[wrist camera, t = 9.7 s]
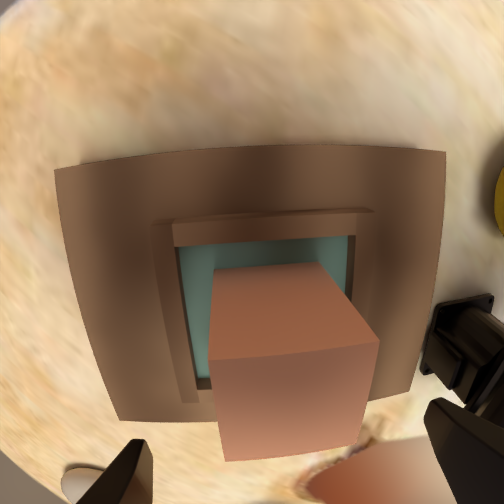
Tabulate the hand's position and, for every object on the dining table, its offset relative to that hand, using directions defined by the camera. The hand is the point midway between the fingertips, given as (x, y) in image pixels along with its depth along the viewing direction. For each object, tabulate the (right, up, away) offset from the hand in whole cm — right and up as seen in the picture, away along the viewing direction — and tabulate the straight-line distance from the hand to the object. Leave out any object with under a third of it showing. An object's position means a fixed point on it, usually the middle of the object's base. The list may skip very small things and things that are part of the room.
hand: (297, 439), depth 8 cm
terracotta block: (-1, +2, +8) cm, 8 cm away
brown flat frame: (-1, +3, +11) cm, 11 cm away
